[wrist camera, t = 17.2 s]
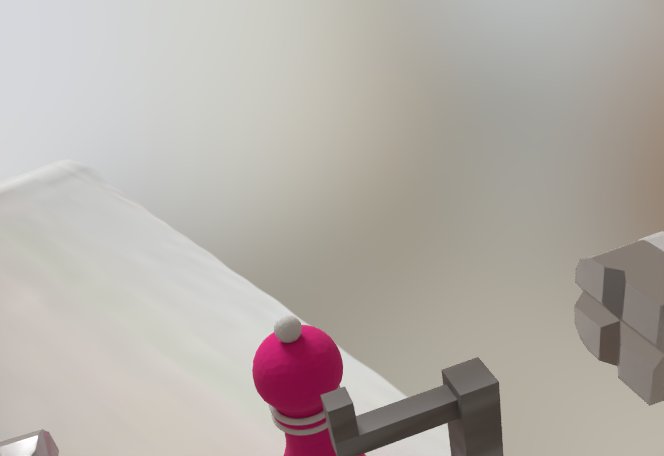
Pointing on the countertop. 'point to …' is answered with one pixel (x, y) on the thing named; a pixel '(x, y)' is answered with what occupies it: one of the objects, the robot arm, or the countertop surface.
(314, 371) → the pepper mill
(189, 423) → the countertop surface
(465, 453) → the hanger stand
